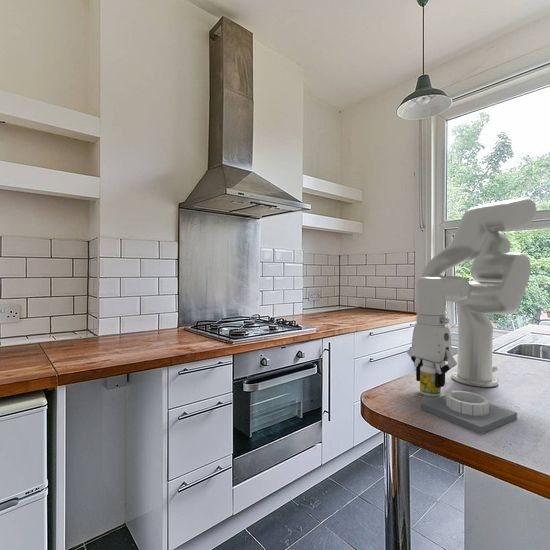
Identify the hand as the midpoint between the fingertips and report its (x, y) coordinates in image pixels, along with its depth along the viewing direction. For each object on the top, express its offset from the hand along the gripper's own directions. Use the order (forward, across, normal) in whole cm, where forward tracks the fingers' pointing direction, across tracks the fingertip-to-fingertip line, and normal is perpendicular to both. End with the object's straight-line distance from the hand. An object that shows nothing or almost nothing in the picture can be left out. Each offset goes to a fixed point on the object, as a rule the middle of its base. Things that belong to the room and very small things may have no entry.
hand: (430, 382), depth 95 cm
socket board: (+3, -13, +4) cm, 14 cm away
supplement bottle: (+3, 0, 0) cm, 3 cm away
